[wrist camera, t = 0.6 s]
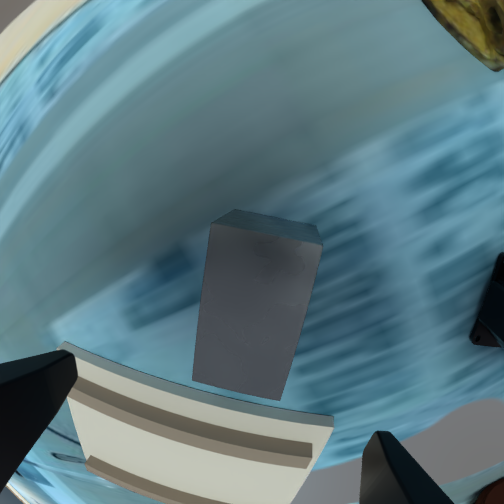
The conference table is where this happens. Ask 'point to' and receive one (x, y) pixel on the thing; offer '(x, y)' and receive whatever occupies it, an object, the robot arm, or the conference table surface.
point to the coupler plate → (189, 438)
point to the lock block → (254, 301)
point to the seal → (474, 27)
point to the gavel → (492, 494)
